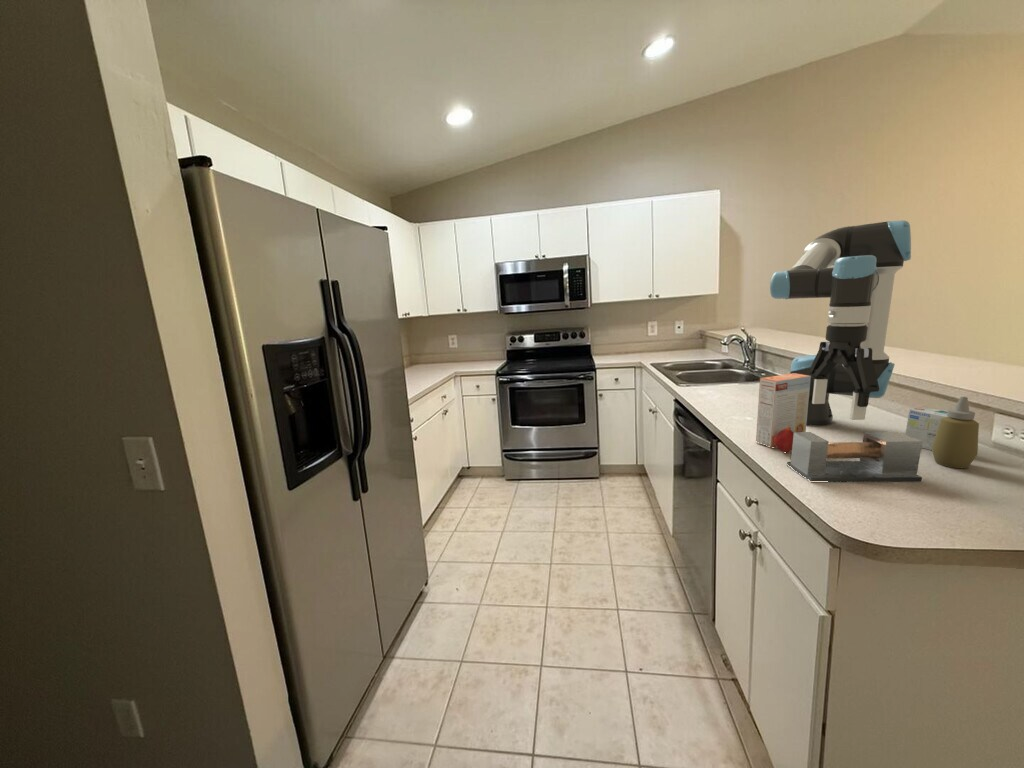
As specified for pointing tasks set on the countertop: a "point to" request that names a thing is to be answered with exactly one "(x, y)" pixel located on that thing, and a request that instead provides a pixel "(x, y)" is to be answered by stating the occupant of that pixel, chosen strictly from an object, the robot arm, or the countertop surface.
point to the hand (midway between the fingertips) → (836, 411)
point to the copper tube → (853, 450)
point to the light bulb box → (924, 424)
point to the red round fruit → (784, 440)
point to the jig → (892, 465)
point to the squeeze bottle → (956, 437)
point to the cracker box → (782, 405)
